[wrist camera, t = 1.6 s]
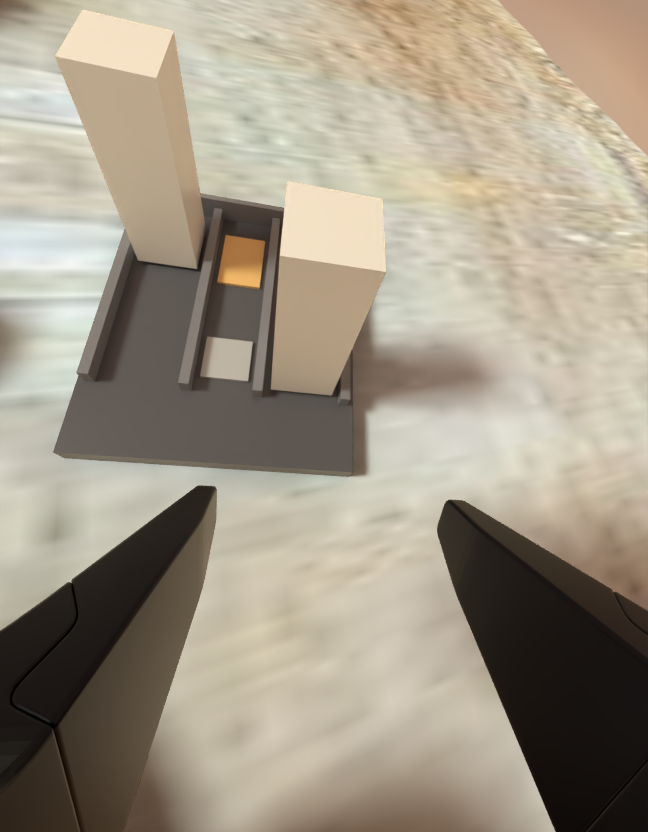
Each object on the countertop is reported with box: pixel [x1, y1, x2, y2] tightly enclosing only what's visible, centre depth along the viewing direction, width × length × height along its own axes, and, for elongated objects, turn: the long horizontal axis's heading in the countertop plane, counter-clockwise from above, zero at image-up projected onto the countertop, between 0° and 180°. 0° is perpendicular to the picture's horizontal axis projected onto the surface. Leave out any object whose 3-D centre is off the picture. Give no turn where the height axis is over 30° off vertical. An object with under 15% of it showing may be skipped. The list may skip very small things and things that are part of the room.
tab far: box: [55, 10, 206, 269], centre depth 21 cm, size 4×4×11 cm
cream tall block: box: [271, 181, 386, 396], centre depth 19 cm, size 4×4×11 cm
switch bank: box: [53, 193, 353, 477], centre depth 24 cm, size 20×17×3 cm
